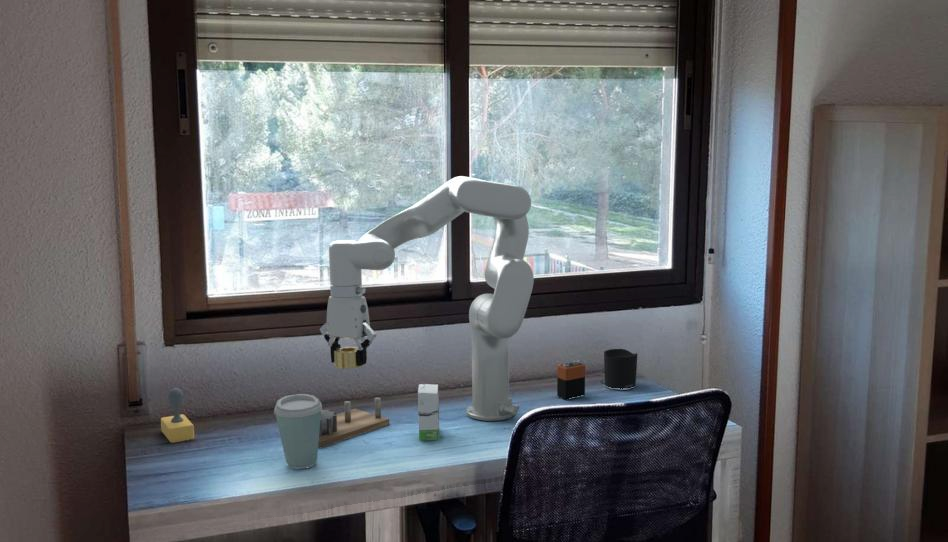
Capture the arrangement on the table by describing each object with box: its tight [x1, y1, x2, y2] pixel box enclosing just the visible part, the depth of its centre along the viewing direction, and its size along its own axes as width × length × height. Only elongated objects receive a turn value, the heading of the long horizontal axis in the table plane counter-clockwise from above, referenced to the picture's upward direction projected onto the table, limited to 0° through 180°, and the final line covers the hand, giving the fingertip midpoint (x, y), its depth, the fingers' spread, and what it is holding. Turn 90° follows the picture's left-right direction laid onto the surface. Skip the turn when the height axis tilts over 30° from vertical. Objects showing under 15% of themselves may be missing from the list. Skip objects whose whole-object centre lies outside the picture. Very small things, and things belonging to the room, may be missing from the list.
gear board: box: [318, 397, 390, 448], centre depth 233 cm, size 13×22×7 cm, turn 139°
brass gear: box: [333, 345, 363, 370], centre depth 229 cm, size 7×7×4 cm
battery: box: [556, 359, 586, 400], centre depth 259 cm, size 4×7×10 cm, turn 123°
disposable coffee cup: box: [273, 393, 323, 470], centre depth 209 cm, size 11×11×15 cm
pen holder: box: [603, 348, 638, 389], centre depth 268 cm, size 9×9×10 cm
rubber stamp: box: [160, 387, 195, 444], centre depth 230 cm, size 10×6×12 cm, turn 30°
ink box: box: [417, 383, 440, 441], centre depth 229 cm, size 9×5×12 cm, turn 2°
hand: (348, 362), depth 230 cm, fingers closed on brass gear, 6 cm apart
